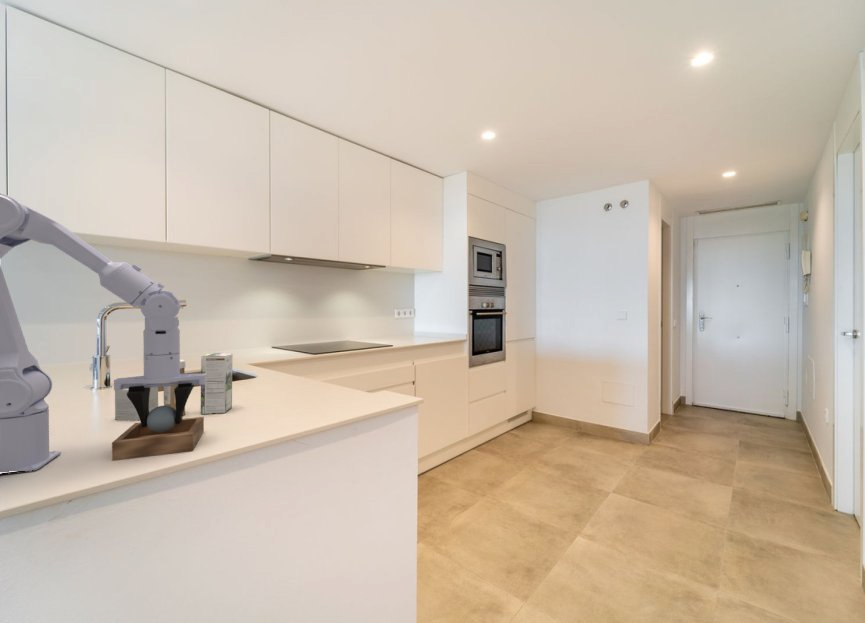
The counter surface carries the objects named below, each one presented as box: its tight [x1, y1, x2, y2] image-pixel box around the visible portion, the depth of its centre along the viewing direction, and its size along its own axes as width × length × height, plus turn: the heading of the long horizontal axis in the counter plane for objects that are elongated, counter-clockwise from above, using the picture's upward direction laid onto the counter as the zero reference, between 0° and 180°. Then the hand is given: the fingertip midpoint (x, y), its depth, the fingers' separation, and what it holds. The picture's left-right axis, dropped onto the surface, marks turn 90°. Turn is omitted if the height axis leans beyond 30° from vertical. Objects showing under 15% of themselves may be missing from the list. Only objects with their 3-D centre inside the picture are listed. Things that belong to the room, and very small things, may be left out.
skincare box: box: [114, 387, 159, 422], centre depth 93 cm, size 6×6×7 cm
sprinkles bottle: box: [163, 359, 187, 416], centre depth 94 cm, size 5×5×13 cm
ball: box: [146, 404, 176, 432], centre depth 75 cm, size 5×5×5 cm
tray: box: [111, 416, 205, 461], centre depth 75 cm, size 12×12×3 cm
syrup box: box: [200, 352, 234, 415], centre depth 98 cm, size 6×6×14 cm
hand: (162, 424), depth 75 cm, fingers closed on ball, 5 cm apart
